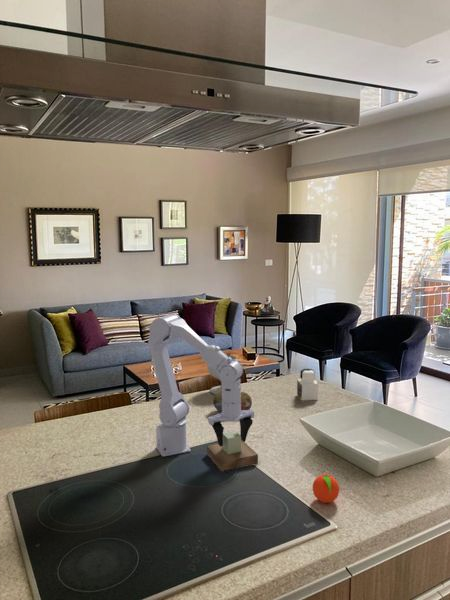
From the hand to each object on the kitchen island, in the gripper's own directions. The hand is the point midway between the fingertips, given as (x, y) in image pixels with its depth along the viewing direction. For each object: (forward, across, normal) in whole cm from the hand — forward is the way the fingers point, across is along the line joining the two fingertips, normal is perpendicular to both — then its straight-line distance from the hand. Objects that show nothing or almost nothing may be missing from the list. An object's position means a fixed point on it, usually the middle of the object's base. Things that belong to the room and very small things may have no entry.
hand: (231, 442), depth 154 cm
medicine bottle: (+6, +51, +38) cm, 64 cm away
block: (+2, 0, 0) cm, 2 cm away
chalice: (+6, +22, +60) cm, 64 cm away
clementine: (+6, +13, -32) cm, 35 cm away
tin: (+6, +16, +36) cm, 40 cm away
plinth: (+5, 0, 0) cm, 5 cm away
